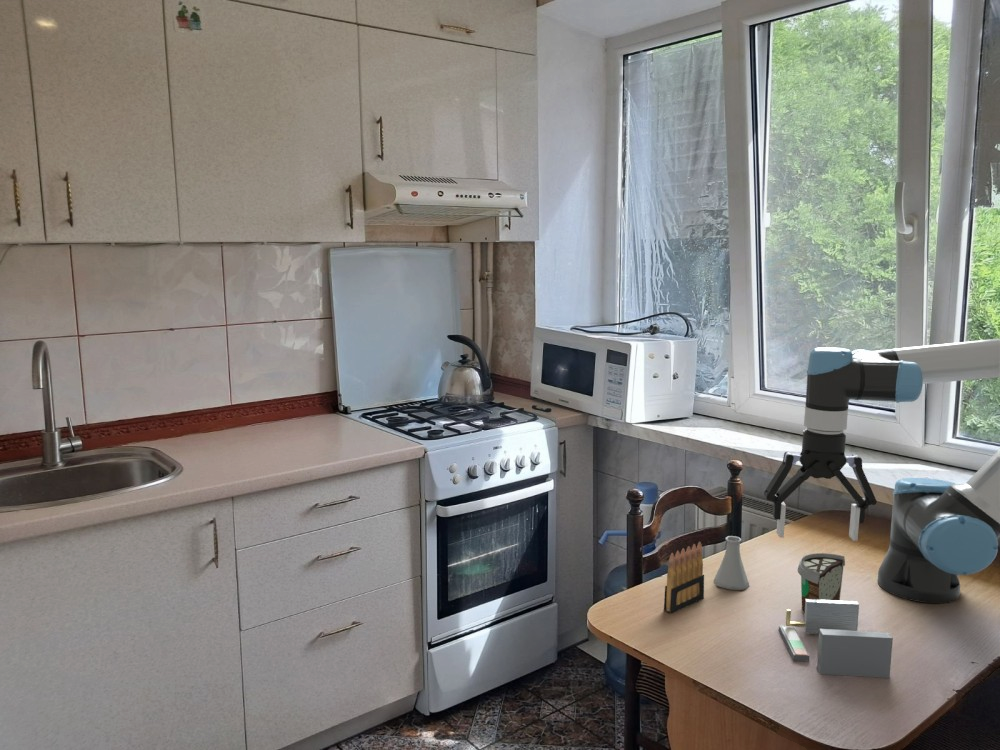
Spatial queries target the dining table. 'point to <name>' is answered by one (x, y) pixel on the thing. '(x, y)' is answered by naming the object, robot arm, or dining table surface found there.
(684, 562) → the ammunition clip
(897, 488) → the robot arm
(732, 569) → the flask
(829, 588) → the food container
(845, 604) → the plate
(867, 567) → the dining table surface
